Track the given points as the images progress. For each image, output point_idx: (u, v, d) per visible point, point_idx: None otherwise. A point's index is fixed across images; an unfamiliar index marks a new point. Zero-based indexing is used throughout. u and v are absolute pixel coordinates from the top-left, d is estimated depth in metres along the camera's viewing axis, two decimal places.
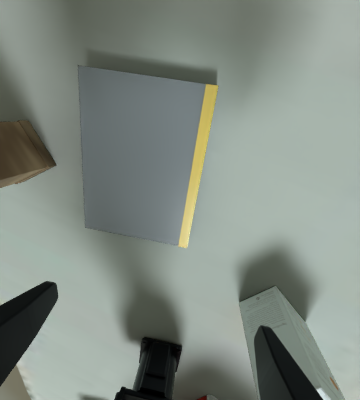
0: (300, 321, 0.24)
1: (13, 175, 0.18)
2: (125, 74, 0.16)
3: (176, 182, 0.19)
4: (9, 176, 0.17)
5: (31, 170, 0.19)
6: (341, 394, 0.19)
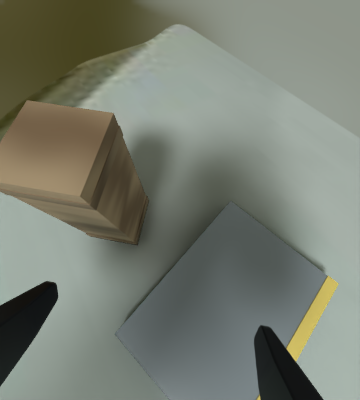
0: None
1: (124, 232, 0.16)
2: (263, 227, 0.20)
3: None
4: (123, 231, 0.16)
5: (129, 237, 0.18)
6: None
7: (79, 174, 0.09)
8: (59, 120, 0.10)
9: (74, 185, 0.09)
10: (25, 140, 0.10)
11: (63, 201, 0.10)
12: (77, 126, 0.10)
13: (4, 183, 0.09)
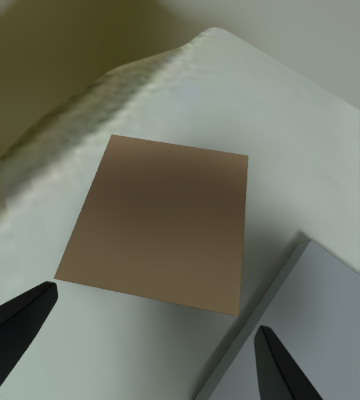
0: None
1: None
2: (358, 276, 0.16)
3: None
4: None
5: None
6: None
7: (227, 270, 0.05)
8: (168, 168, 0.07)
9: (223, 293, 0.05)
10: (123, 203, 0.06)
11: None
12: (199, 178, 0.07)
13: (101, 287, 0.05)
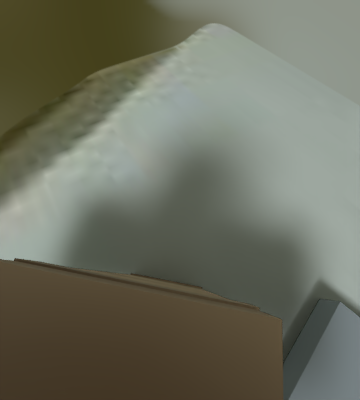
0: None
1: None
2: None
3: None
4: None
5: None
6: None
7: None
8: (82, 364, 0.03)
9: None
10: None
11: None
12: None
13: None
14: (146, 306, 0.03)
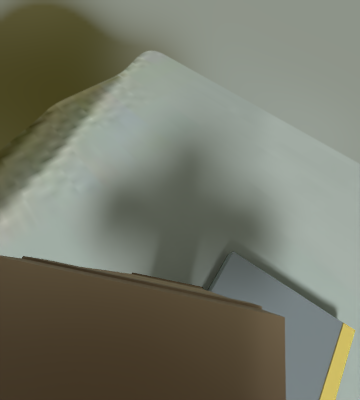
0: None
1: None
2: (271, 278, 0.19)
3: None
4: None
5: None
6: None
7: None
8: (91, 358, 0.03)
9: None
10: None
11: None
12: (164, 398, 0.03)
13: None
14: (153, 303, 0.03)
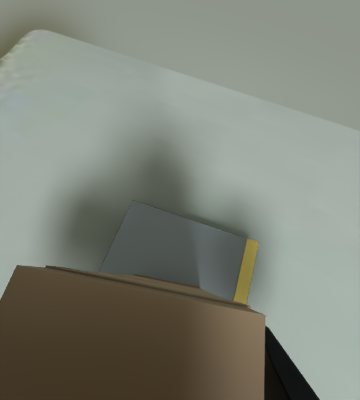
0: None
1: None
2: (173, 215, 0.18)
3: None
4: None
5: None
6: None
7: None
8: (112, 349, 0.03)
9: None
10: None
11: None
12: (170, 378, 0.03)
13: None
14: (160, 305, 0.04)
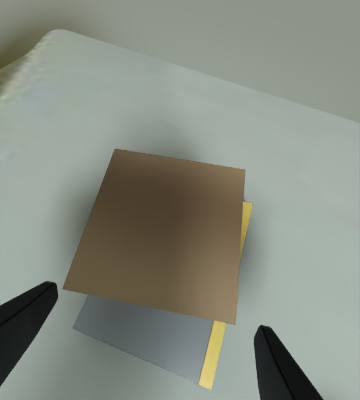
0: None
1: None
2: None
3: None
4: None
5: None
6: None
7: (224, 281, 0.06)
8: (169, 181, 0.07)
9: (221, 302, 0.06)
10: (126, 216, 0.06)
11: None
12: (198, 192, 0.07)
13: (106, 297, 0.06)
14: (191, 165, 0.07)
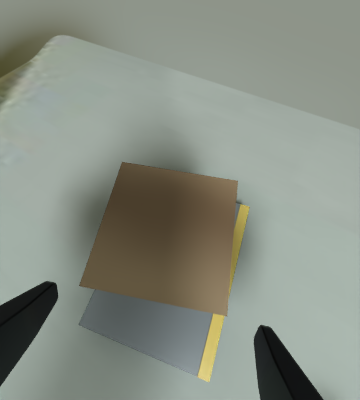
0: None
1: None
2: None
3: None
4: None
5: None
6: None
7: (218, 279, 0.07)
8: (170, 192, 0.08)
9: (215, 297, 0.07)
10: (132, 222, 0.07)
11: None
12: (196, 201, 0.08)
13: (117, 293, 0.07)
14: (190, 177, 0.08)
